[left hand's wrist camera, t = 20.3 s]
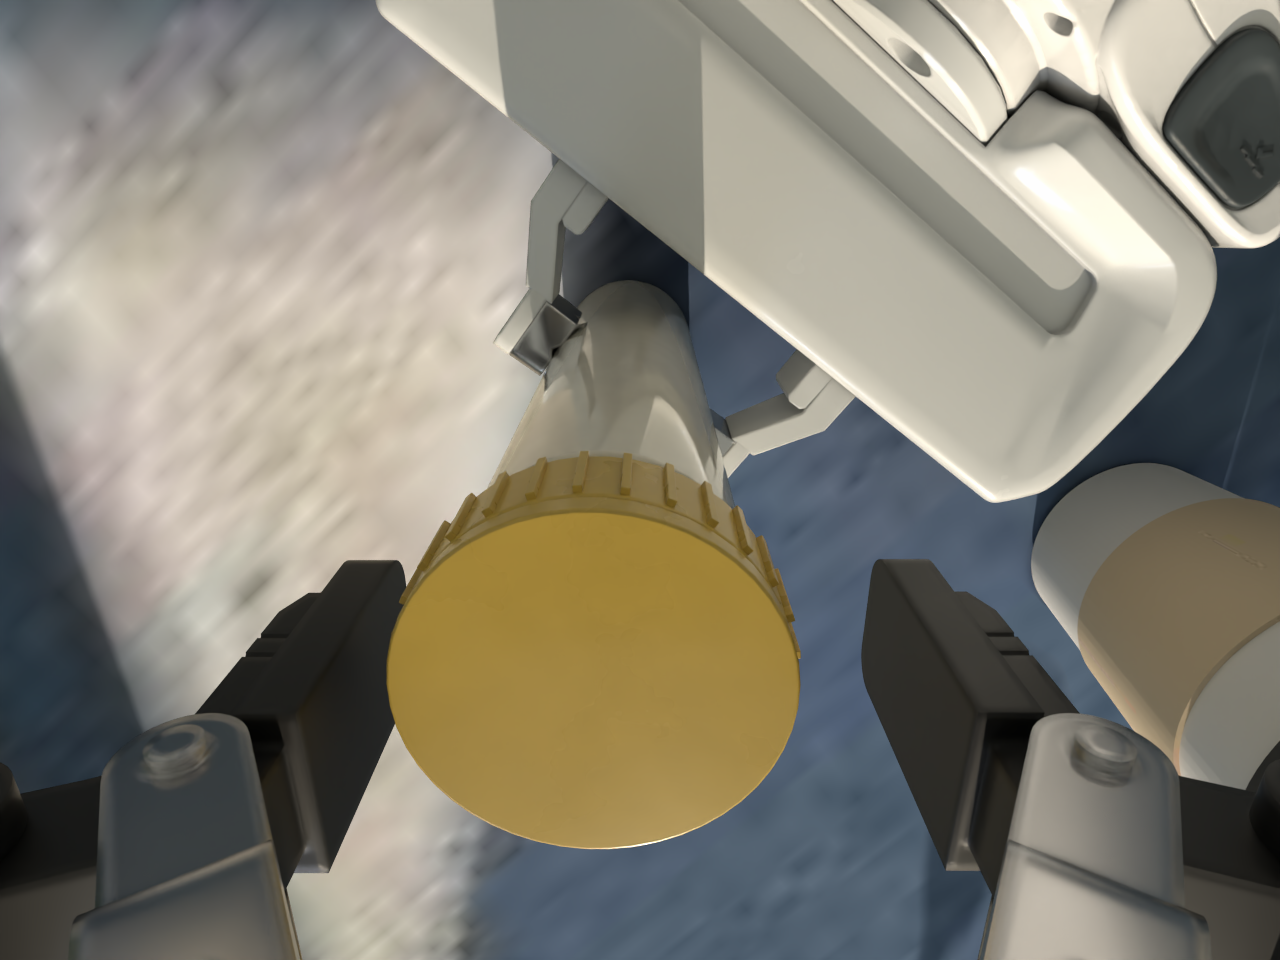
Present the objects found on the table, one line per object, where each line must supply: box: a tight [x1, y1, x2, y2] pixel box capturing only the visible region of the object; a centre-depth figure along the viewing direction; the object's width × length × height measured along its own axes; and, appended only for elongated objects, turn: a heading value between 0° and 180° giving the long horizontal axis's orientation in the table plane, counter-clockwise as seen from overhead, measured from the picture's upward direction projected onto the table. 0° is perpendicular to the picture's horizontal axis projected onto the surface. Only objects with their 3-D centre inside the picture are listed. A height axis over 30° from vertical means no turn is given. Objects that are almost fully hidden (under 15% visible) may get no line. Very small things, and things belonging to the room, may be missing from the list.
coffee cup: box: [1031, 463, 1280, 792], centre depth 22 cm, size 9×9×15 cm
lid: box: [386, 451, 801, 849], centre depth 9 cm, size 5×5×2 cm
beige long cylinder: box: [487, 280, 735, 509], centre depth 18 cm, size 4×4×18 cm
